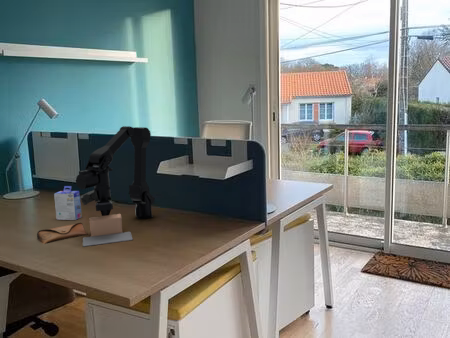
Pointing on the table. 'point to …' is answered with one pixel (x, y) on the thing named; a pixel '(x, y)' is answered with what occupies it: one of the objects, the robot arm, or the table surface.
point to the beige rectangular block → (105, 225)
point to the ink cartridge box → (67, 204)
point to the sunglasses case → (61, 233)
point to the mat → (107, 239)
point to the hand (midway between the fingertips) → (105, 222)
